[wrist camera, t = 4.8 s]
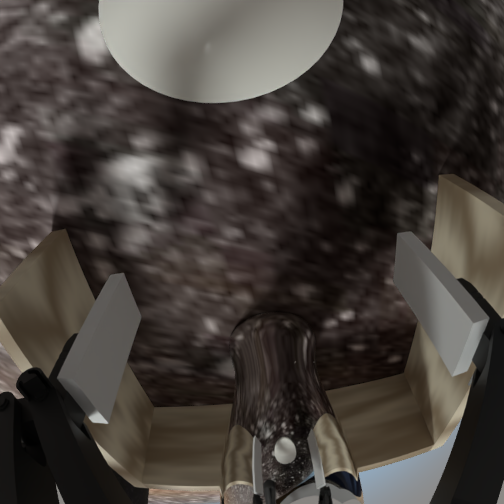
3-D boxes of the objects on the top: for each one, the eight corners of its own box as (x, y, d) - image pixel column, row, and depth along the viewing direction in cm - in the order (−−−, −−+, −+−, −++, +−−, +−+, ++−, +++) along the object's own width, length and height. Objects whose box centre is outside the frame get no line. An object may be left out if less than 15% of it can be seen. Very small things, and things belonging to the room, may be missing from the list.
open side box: (51, 231, 17) (-20, 310, 10) (453, 173, 17) (542, 230, 10) (147, 413, 27) (134, 486, 20) (412, 377, 26) (442, 445, 19)
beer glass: (303, 377, 24) (335, 555, 11) (216, 368, 23) (212, 563, 10) (334, 311, 21) (403, 529, 8) (232, 298, 20) (233, 553, 7)
